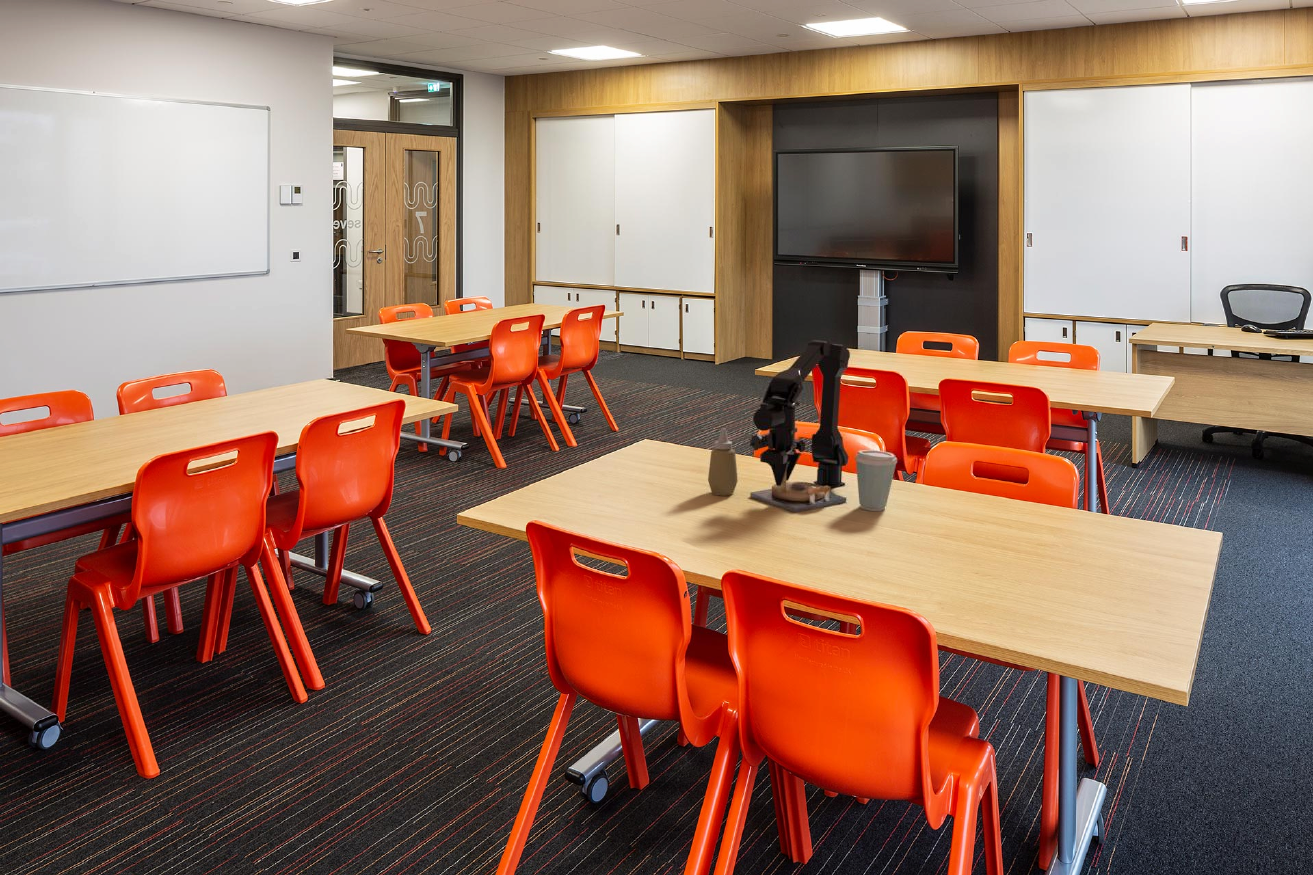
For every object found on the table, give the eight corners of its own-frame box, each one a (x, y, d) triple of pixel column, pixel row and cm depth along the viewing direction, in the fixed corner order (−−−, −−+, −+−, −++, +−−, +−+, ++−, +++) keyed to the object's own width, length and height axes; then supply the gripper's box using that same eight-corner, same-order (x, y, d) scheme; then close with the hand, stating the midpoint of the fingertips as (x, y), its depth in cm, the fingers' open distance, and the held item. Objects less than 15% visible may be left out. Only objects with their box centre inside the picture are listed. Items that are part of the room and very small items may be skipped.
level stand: (800, 487, 285) (801, 470, 284) (846, 502, 271) (847, 483, 270) (750, 496, 275) (750, 478, 274) (794, 512, 261) (795, 493, 260)
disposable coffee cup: (867, 500, 273) (870, 445, 269) (902, 508, 265) (906, 451, 262) (844, 507, 265) (847, 451, 262) (880, 516, 258) (883, 458, 255)
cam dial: (799, 484, 282) (800, 457, 281) (835, 495, 271) (836, 468, 269) (760, 492, 274) (760, 464, 273) (795, 504, 263) (796, 475, 262)
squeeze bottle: (737, 489, 282) (739, 426, 279) (737, 497, 275) (738, 432, 271) (708, 489, 283) (709, 425, 280) (707, 496, 275) (707, 431, 272)
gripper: (767, 415, 277) (765, 471, 280) (741, 428, 260) (740, 487, 264) (806, 419, 272) (804, 476, 275) (783, 432, 256) (781, 492, 259)
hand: (782, 482), depth 268 cm, fingers open, 6 cm apart
